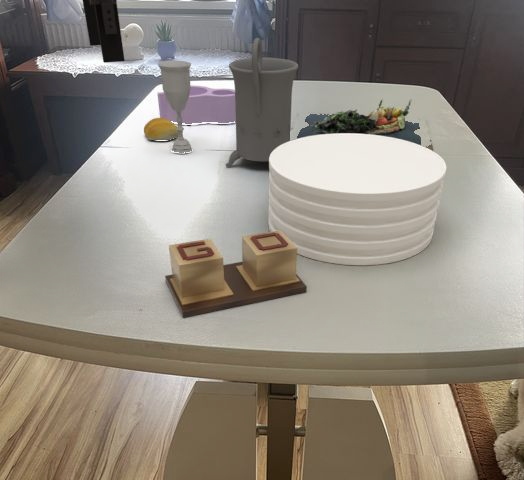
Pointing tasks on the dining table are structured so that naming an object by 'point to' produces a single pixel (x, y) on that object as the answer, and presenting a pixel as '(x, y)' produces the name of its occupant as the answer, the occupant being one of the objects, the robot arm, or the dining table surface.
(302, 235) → the plate stack
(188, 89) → the chalice
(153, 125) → the bread roll
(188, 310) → the word board
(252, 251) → the letter O
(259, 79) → the mug
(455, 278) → the dining table surface
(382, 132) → the plated dish
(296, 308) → the dining table surface
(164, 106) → the purple block with holes
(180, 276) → the letter G
